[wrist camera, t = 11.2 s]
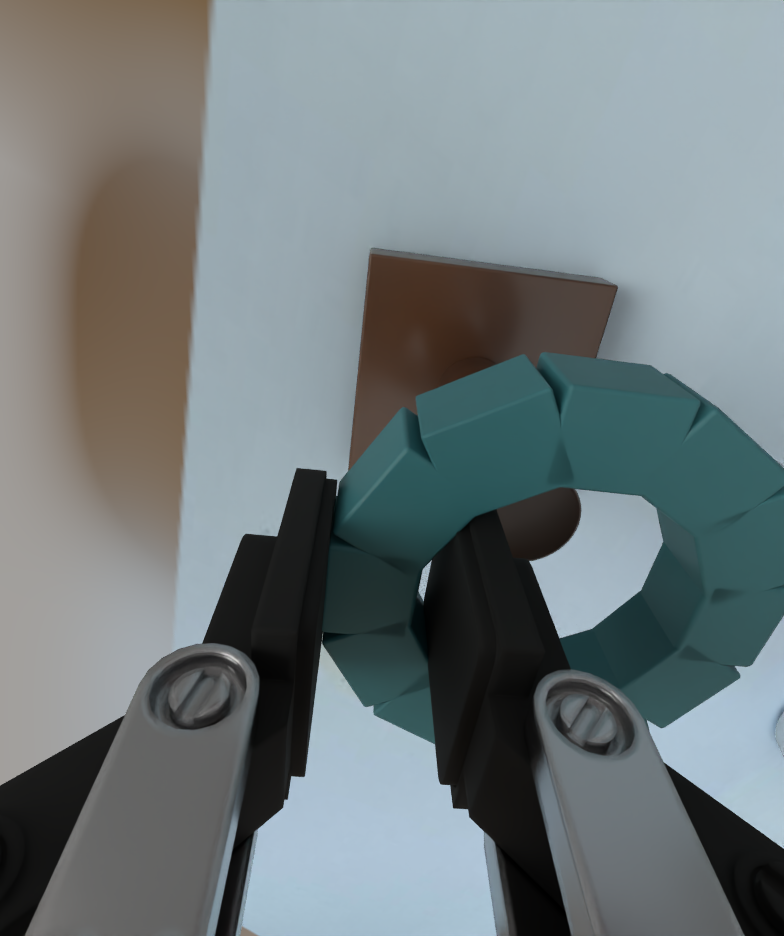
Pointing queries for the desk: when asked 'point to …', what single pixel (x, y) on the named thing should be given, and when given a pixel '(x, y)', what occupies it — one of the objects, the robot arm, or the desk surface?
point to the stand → (472, 352)
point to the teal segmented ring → (544, 469)
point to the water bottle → (780, 733)
